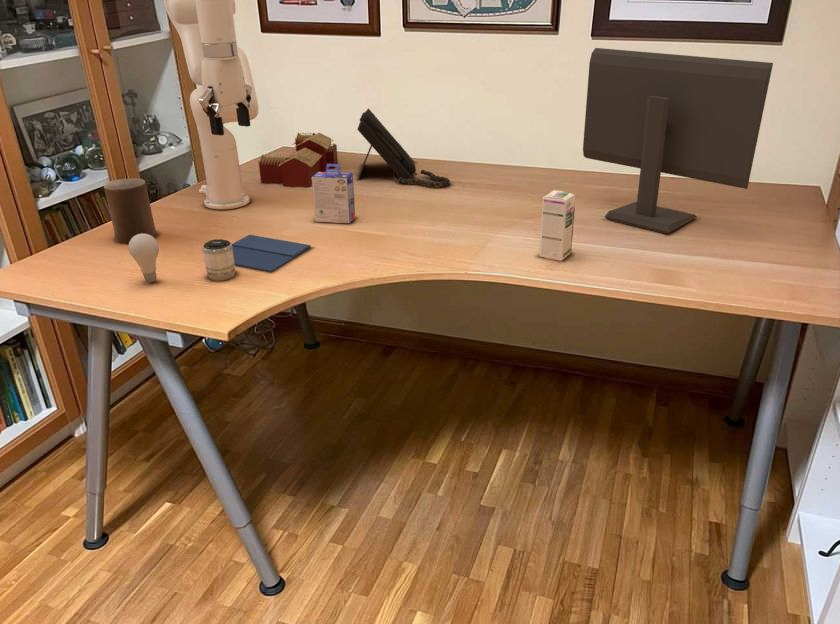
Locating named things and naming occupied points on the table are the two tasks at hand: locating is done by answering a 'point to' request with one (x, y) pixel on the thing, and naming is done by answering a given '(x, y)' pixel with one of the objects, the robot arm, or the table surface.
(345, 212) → the ink cartridge box
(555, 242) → the syrup box
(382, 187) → the table surface
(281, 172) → the toy houses
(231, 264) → the camera lens
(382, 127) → the office phone
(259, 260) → the cloth
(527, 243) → the table surface
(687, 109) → the computer monitor
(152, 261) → the lightbulb
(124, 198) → the pillar candle
